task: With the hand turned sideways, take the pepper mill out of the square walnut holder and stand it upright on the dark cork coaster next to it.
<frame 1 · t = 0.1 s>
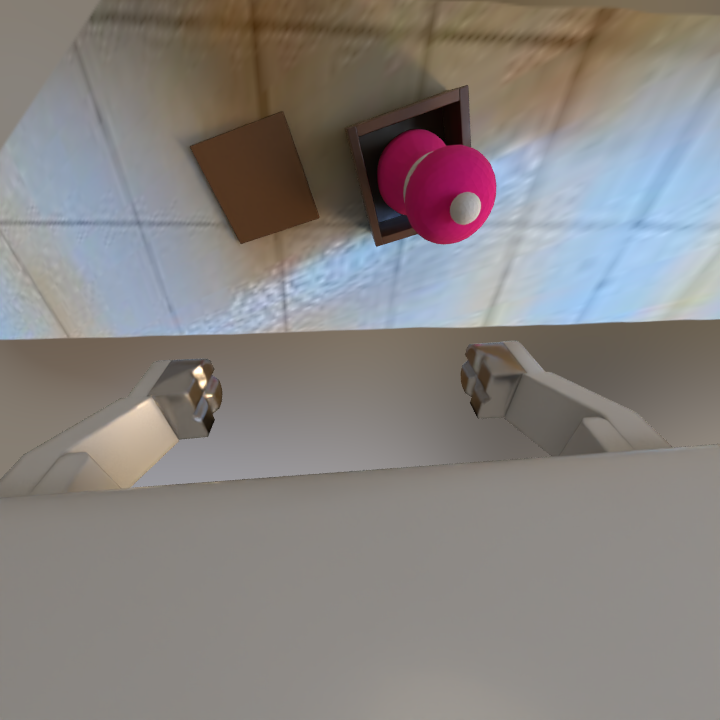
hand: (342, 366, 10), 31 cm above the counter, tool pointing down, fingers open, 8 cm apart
mill holder: (405, 169, 33), on the counter
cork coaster: (260, 184, 33), on the counter
pepper mill: (405, 169, 34), resting in mill holder
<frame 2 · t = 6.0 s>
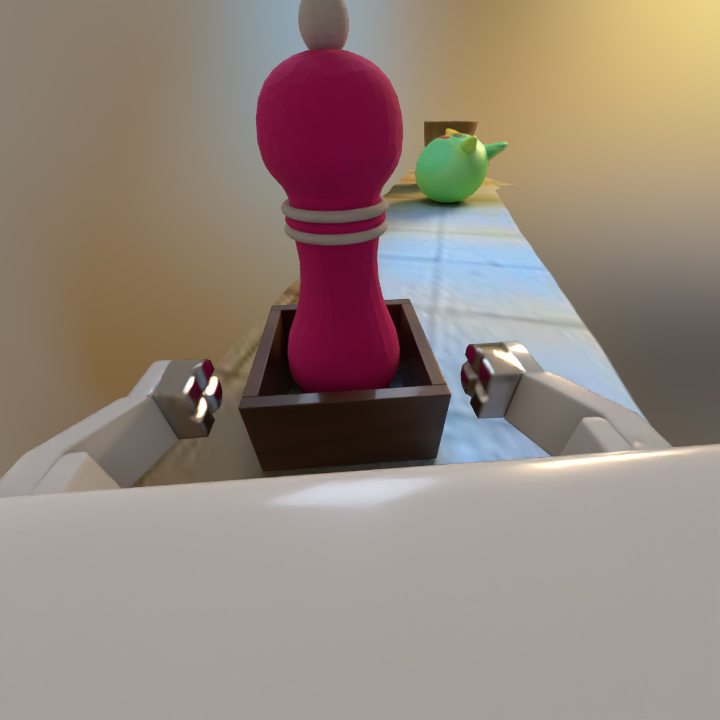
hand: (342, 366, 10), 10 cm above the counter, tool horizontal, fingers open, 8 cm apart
mill holder: (347, 401, 23), on the counter
toy bird: (448, 202, 77), on the counter
plant pot: (442, 185, 97), on the counter
pepper mill: (347, 403, 23), resting in mill holder
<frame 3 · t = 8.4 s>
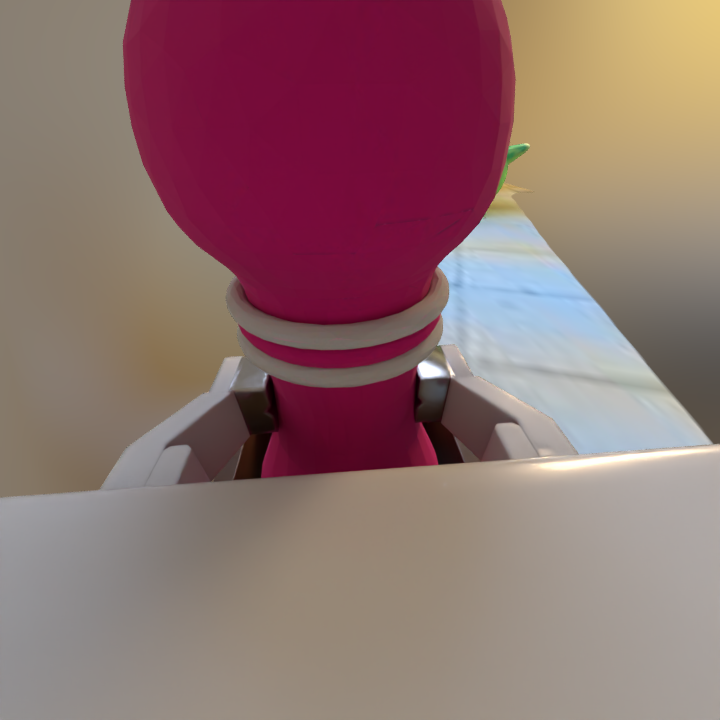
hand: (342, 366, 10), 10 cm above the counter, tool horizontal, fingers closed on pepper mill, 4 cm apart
mill holder: (354, 531, 15), on the counter
toy bird: (461, 210, 69), on the counter
pepper mill: (354, 532, 15), resting in mill holder, touching gripper
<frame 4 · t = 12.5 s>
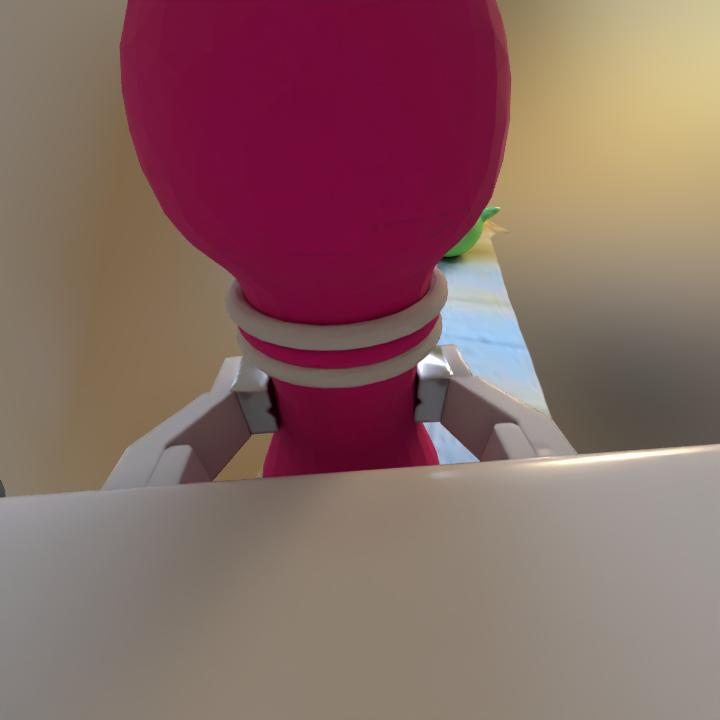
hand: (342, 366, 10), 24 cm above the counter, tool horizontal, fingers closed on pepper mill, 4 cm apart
toy bird: (447, 255, 85), on the counter
pepper mill: (356, 532, 15), point 14 cm above the counter, touching gripper
when the fingers open (11 cm above the counter, at t = 16.5 s): pepper mill stays where it is, resting on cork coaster.
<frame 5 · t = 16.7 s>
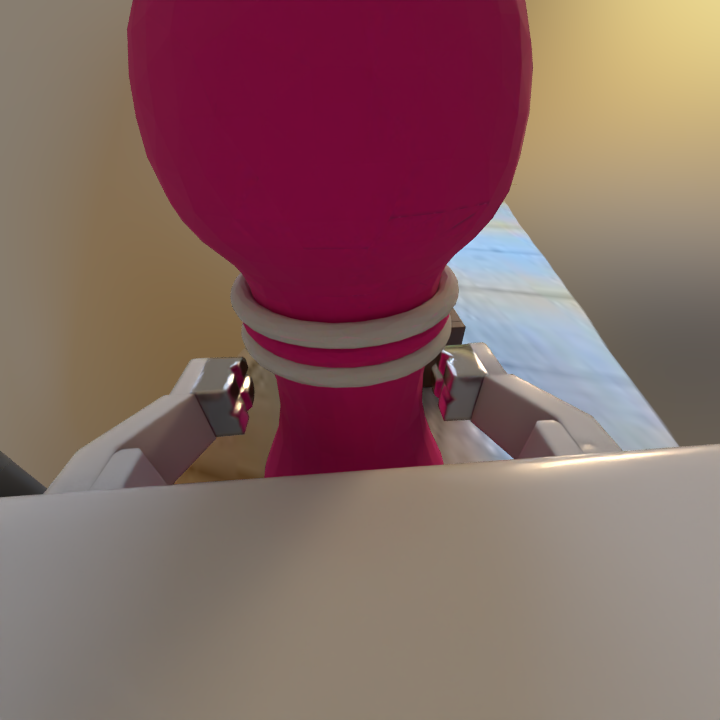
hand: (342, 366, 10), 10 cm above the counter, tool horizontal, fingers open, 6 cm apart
mill holder: (378, 350, 28), on the counter
pepper mill: (358, 534, 15), resting on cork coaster
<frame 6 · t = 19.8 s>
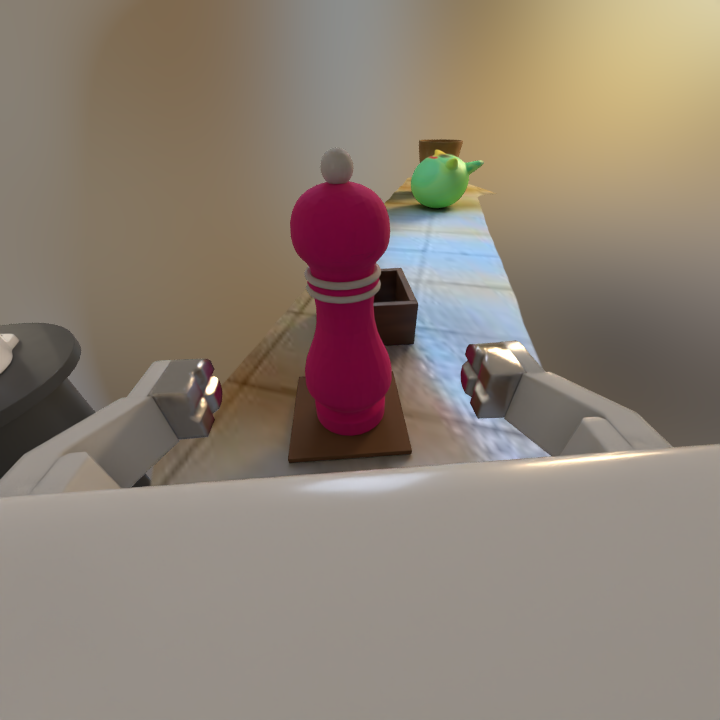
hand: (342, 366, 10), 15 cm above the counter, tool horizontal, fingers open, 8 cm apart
mill holder: (367, 323, 41), on the counter
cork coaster: (348, 412, 29), on the counter
toy bird: (437, 208, 95), on the counter
plant pot: (434, 192, 115), on the counter
pepper mill: (350, 410, 28), resting on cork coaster
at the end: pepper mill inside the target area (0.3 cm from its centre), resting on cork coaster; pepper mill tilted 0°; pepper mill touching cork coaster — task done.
